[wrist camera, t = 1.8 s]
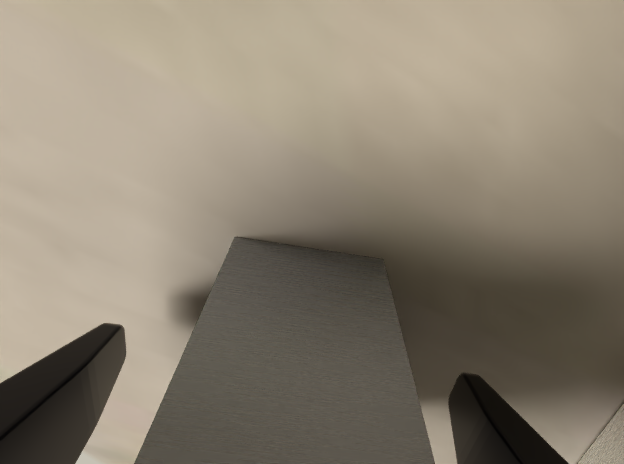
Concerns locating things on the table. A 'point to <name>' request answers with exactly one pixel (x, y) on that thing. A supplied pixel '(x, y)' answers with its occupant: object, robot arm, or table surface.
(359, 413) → the steel block
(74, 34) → the table surface
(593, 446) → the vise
